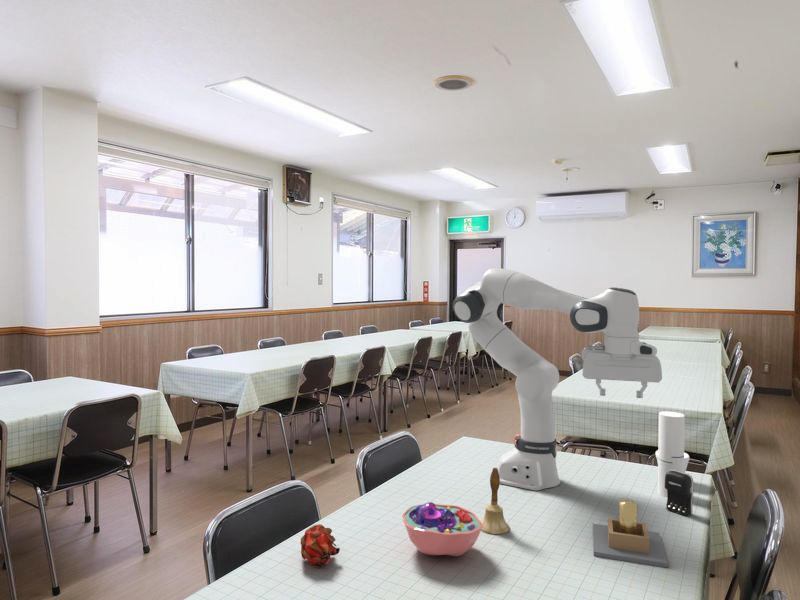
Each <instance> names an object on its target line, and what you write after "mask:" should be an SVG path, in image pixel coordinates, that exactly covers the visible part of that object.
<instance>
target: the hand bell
mask: <svg viewBox="0 0 800 600" xmlns="http://www.w3.org/2000/svg"><path fill="white" fill-rule="evenodd" d="M491 472H492V473H491ZM491 472H490V476H489V477H490V478H489V483H490V489H491V497H490V504H488V505H486V507H485V511H484V516H483V518H482V519H481V520H480V522H481V523H482V529H481V531H482V532H483V533H485V534H486V533H487V534H491V535H503V534H507V533H508V532H509V531H510V530H511V527H510V524H508V523H507V521H506V520H505V516H504V509H503V507H502V506H500V505H499V504H498V499H499V498H498V492H499V488H500V485H501V484H500V476H499V473H498V469H497V467H493V468H492V470H491Z"/></svg>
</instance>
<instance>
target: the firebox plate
mask: <svg viewBox="0 0 800 600" xmlns="http://www.w3.org/2000/svg"><path fill="white" fill-rule="evenodd" d="M647 526H648V525H647V523H646V522H641V521H637V535H632V534H625V533H619V519H618V518H611V517H607V525H606V524H599V523H592V537H593V538H592V541H593V542H592V543H593V545H592V546H593V556H594V557H599V558H605V559H611V560H612V559H613V560H619V561H625V562H631V563H637V564H643V565H648V566H649V565H651V566H656V567H663V568H669V563H668V558H667V555H666V552H665V551H666V550H665V548H664V545H663V541H662V538H661V536H660V532H656V531H648V527H647Z"/></svg>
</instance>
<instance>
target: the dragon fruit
mask: <svg viewBox="0 0 800 600" xmlns="http://www.w3.org/2000/svg"><path fill="white" fill-rule="evenodd" d="M332 531H333V530H332V529H331V527H325V526H324V525H323V524H320V523H319V524H314V525H311V526H310V527H308V528H307V529H306V530H305V531H304V535H302V536H301V537H300V546H301V547H300V548H301V550H300V554H301V558H302V560H307V561H308V563H309V564H310V565H311V566H312V567H313V568H317V569H320V568H321V567H320V565H321V564H325V565H328V564H329V563H330V562H331V556H337V555H338V554H339V553H340V552H341V551H340V550H341V548H340V547H337V544H335V543H334V542H335V541H336V537H334V535H332Z"/></svg>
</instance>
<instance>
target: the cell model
mask: <svg viewBox="0 0 800 600" xmlns="http://www.w3.org/2000/svg"><path fill="white" fill-rule="evenodd" d="M401 517H402V521H403V524H404V527H405V528H406V532H407V535H408V537H409V540H410V542H411V543H412V544H413V545H414V547H415V548H416V549H417V550H418V551H419V552H420V553H421V554H425V555H428V556H449V557H450V556H451V557H460V556H462V555H463V554H465V553H466V552H468V551H470V549H471V548H472V547H473V546H474V545H475V544H476V542H477V540H478V538H479V537H480V533H481V531H482V530H481V529H482V523H481V520H480V519H479V517H477V516H476V514H475V513H474V512H472V511H470V510H468V509H466V508H464V507H462V506H460V505H452V504H451V505H450V504H437V503H434V502H430V501H428V502H425V503H423V504H422V503H421V504H417V505H413V506H411V507H409V508H407V509H406V510H405V511H404V512H403V513H402V515H401Z"/></svg>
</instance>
